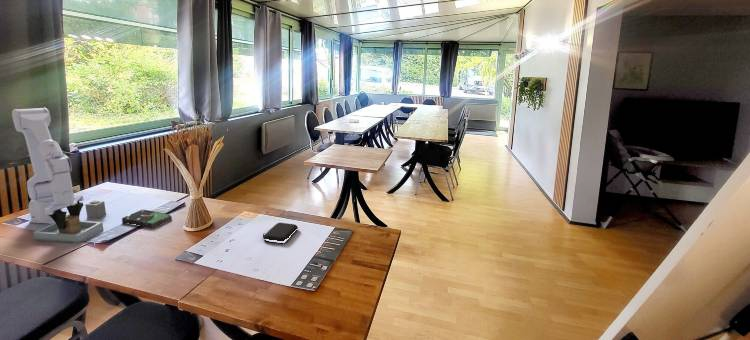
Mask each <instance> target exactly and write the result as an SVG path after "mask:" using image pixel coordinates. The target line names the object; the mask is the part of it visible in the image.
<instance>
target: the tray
mask: <svg viewBox="0 0 750 340" xmlns="http://www.w3.org/2000/svg"><path fill="white" fill-rule="evenodd" d="M80 226H81V231H80V232H78V233H76V234H63V233H59V229H58V226H57V225H56V223H53V224H49V225H47V226H45V227H43V228H40V229H38V230H36V231H34V232H33V237H34V241H39V242H51V243H53V242H54V243H64V244H66V243H67V244H76V245H77V244H81V243H82V242H84V241H86V240H87V239H86V238H88V237H89V238H91V237H92V236H91V235H93V234H95V233H96V234H98V233H100V232H101V231H100V230H102V229H103V230H104V226H103V222H102V221H91V220H90V221H89V220H80ZM103 230H102V231H103ZM99 231H100V232H99ZM97 232H98V233H97ZM96 234H95V235H96ZM90 236H91V237H90ZM93 236H94V235H93ZM89 238H88V239H89ZM85 239H86V240H85Z"/></svg>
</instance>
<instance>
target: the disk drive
mask: <svg viewBox="0 0 750 340" xmlns="http://www.w3.org/2000/svg"><path fill="white" fill-rule="evenodd" d="M172 217H173V216H172V215H171V214H169V213H165V212H159V211H153V210H148V209H140V210H138V211H136V212H133V213H131V214H130V215H129V216H128V215H126V216H124V217H122V218H121V222H122V224H125V223H129V224H128V225H130V224H136V225H140V226H139V227H142V228H147V229H155V228H157V227H159V226H161V225H163V224H165V223H167V222H170V221H171V220H172V219H173V218H172ZM136 225H135V226H136Z"/></svg>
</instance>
